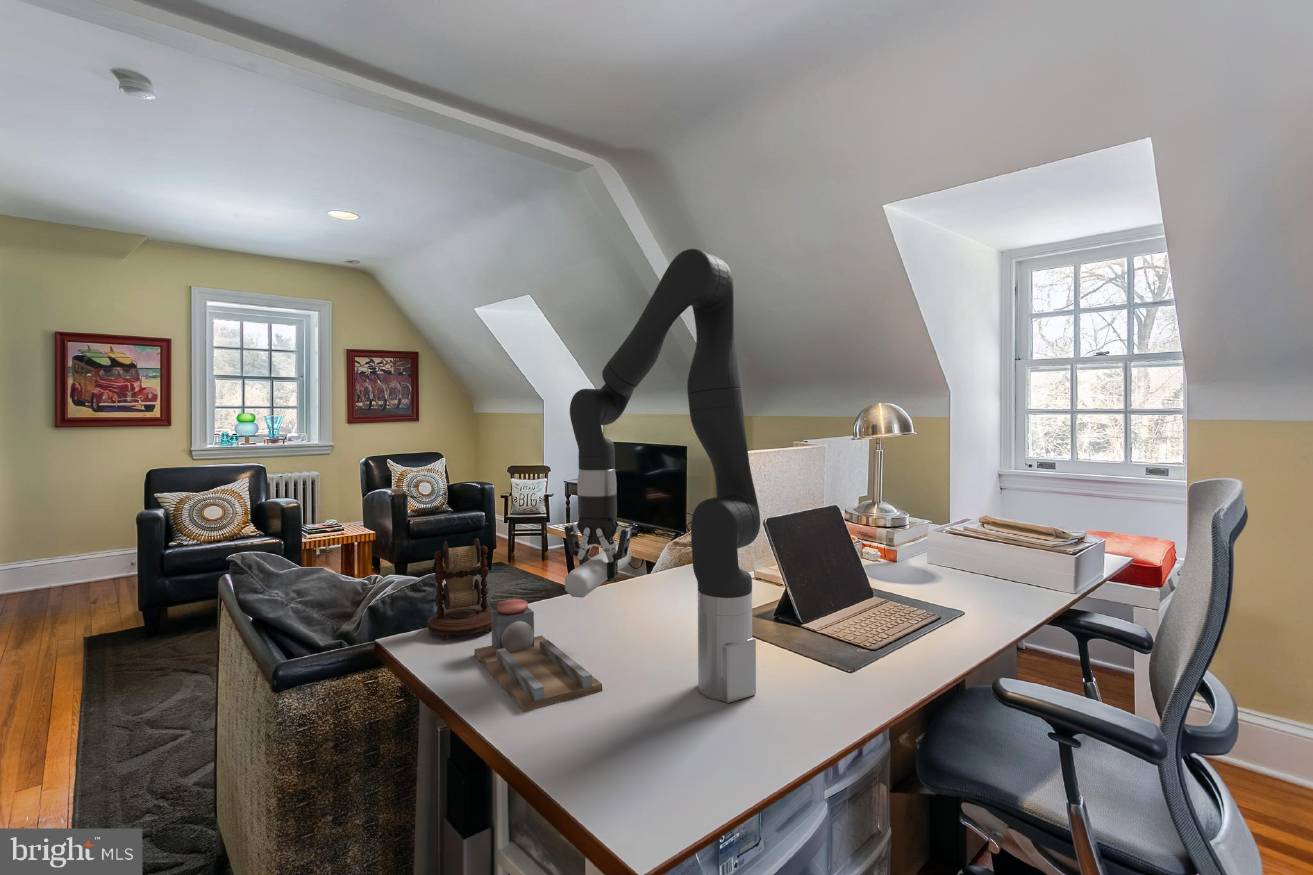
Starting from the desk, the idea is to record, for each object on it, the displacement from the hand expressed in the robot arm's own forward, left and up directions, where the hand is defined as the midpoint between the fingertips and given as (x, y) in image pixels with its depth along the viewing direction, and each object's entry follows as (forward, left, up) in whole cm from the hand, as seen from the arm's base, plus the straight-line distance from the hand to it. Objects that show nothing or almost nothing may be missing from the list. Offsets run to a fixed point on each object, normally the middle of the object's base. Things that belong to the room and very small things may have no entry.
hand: (598, 578), depth 125 cm
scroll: (+30, +19, -15) cm, 38 cm away
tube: (0, 0, -1) cm, 1 cm away
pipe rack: (0, +14, -15) cm, 20 cm away
